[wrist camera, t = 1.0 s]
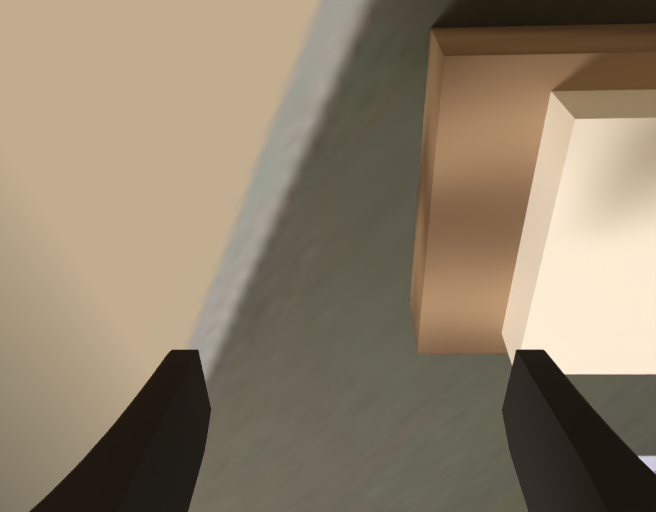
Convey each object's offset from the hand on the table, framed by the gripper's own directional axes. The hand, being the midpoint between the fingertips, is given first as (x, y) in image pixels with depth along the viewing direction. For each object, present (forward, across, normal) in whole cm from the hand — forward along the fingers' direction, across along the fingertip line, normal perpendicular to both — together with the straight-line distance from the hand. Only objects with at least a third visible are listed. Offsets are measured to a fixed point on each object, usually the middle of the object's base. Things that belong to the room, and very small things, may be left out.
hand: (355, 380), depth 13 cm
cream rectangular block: (+6, -8, 0) cm, 11 cm away
